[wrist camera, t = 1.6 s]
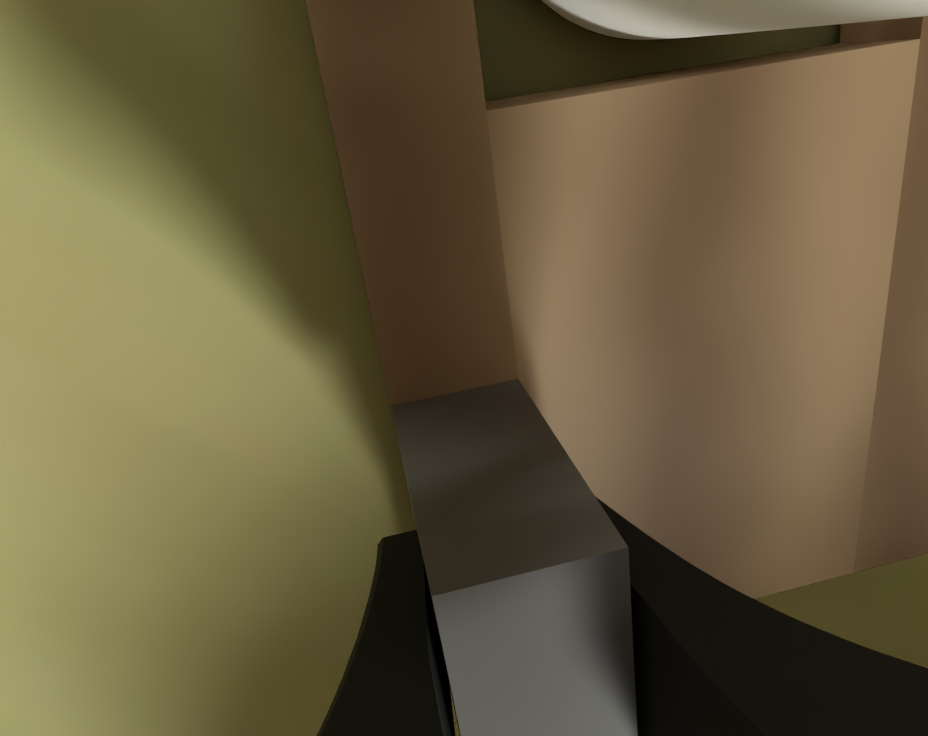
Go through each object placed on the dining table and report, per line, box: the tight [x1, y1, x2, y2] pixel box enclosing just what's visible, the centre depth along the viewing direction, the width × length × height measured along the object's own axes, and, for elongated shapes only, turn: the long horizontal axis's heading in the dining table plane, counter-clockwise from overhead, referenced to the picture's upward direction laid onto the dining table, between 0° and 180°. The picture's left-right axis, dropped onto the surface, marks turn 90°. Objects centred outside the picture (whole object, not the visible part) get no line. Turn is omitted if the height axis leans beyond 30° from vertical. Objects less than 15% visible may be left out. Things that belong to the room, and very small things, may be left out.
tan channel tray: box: [305, 0, 928, 736], centre depth 10 cm, size 12×21×7 cm, turn 8°
